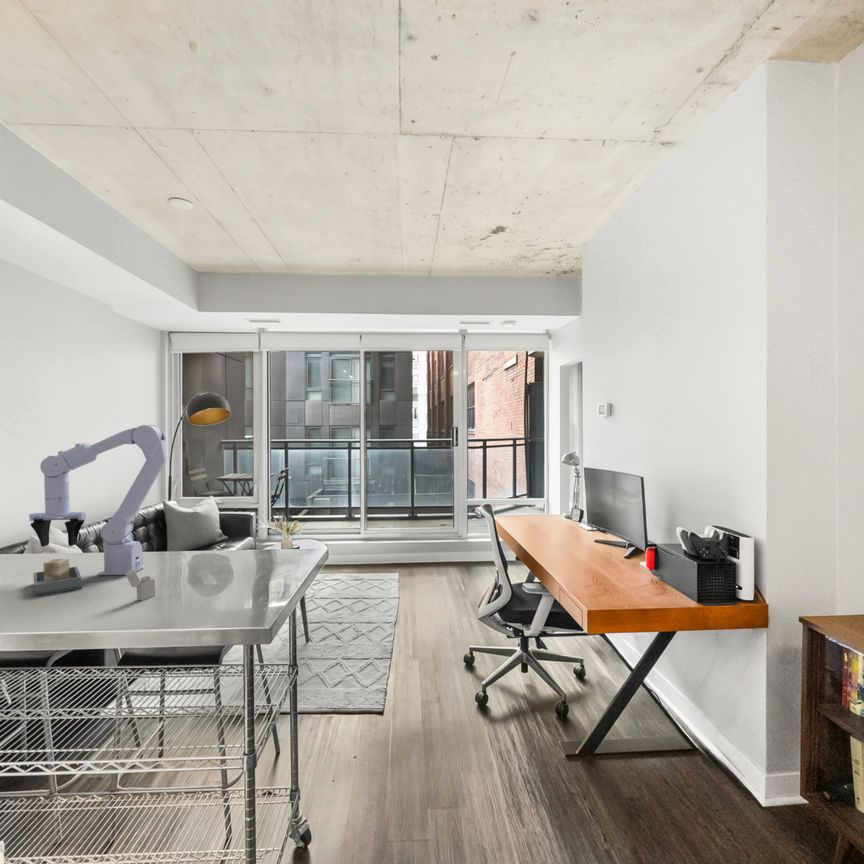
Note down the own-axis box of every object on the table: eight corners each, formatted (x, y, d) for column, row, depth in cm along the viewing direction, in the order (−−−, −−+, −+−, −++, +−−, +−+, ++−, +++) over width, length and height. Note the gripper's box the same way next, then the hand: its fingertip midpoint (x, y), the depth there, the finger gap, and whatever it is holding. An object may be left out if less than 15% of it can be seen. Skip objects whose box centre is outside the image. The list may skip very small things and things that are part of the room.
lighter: (150, 594, 137) (149, 563, 137) (155, 595, 136) (154, 563, 136) (125, 604, 130) (124, 571, 130) (131, 604, 130) (130, 571, 129)
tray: (77, 576, 154) (77, 566, 154) (81, 588, 143) (81, 577, 143) (33, 583, 148) (33, 572, 148) (34, 596, 137) (34, 585, 137)
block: (69, 580, 147) (68, 558, 147) (59, 585, 143) (58, 562, 143) (54, 581, 147) (53, 559, 147) (44, 585, 143) (43, 563, 143)
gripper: (20, 500, 149) (22, 549, 150) (74, 499, 150) (75, 548, 150) (38, 496, 157) (40, 543, 157) (89, 495, 157) (91, 542, 157)
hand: (58, 545), depth 154 cm, fingers open, 7 cm apart
